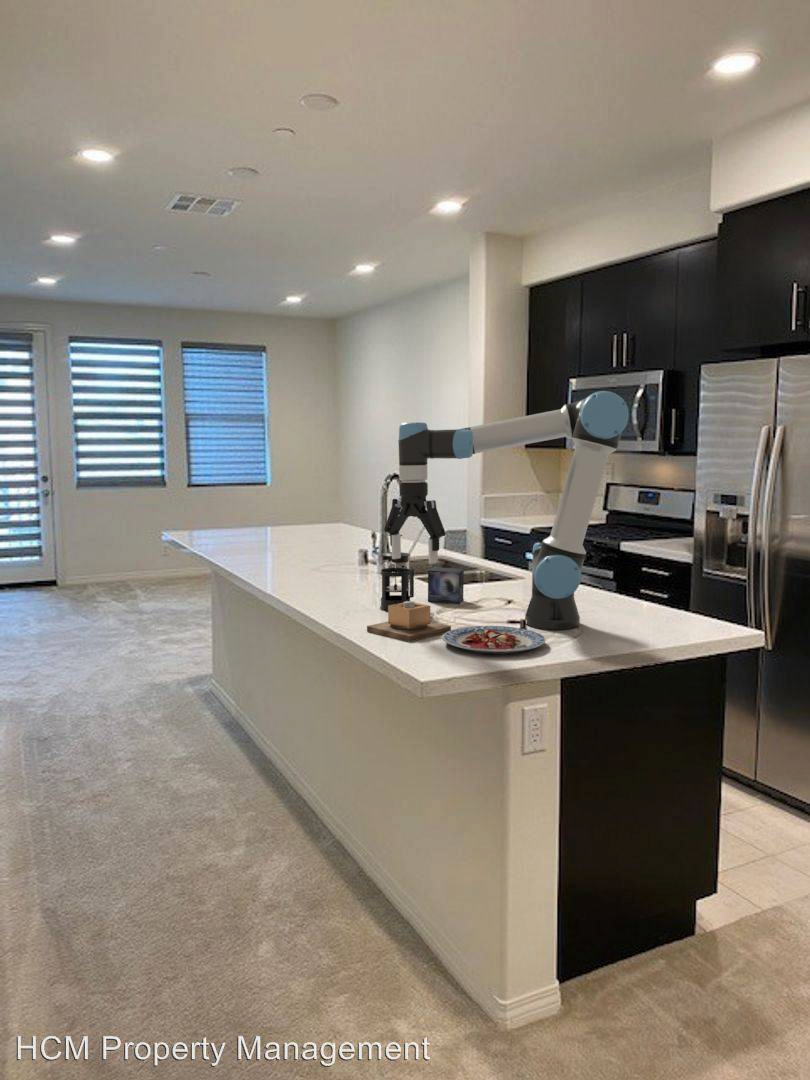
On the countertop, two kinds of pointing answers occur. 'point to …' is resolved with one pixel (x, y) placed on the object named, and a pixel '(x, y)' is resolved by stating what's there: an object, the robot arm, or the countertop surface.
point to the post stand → (407, 633)
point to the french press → (400, 572)
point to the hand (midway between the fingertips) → (414, 560)
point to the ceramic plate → (493, 639)
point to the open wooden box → (409, 615)
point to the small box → (445, 585)
